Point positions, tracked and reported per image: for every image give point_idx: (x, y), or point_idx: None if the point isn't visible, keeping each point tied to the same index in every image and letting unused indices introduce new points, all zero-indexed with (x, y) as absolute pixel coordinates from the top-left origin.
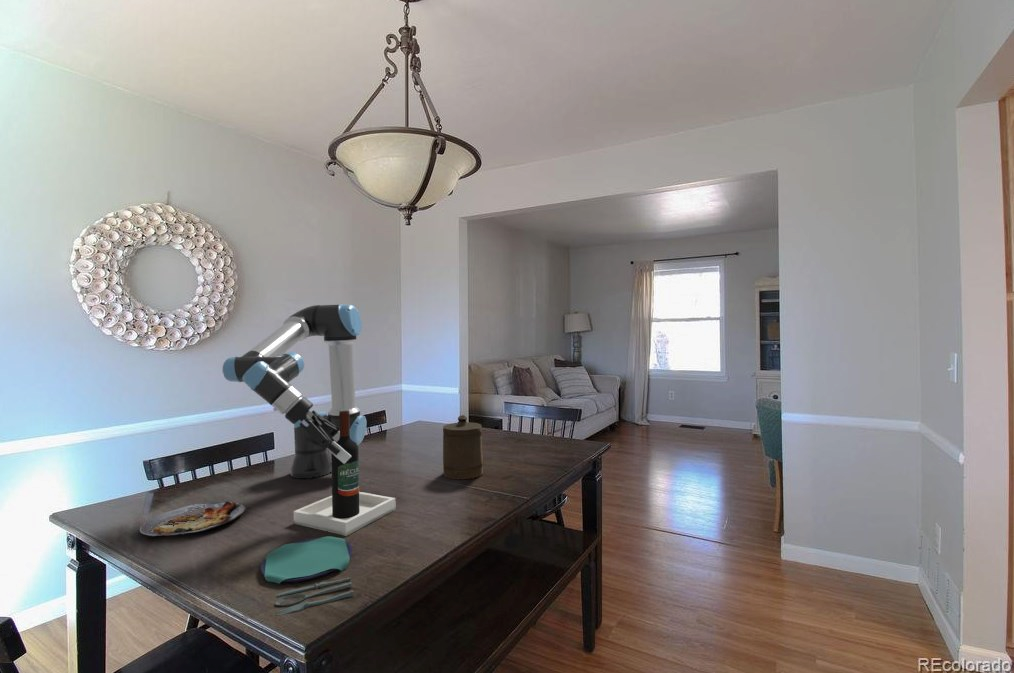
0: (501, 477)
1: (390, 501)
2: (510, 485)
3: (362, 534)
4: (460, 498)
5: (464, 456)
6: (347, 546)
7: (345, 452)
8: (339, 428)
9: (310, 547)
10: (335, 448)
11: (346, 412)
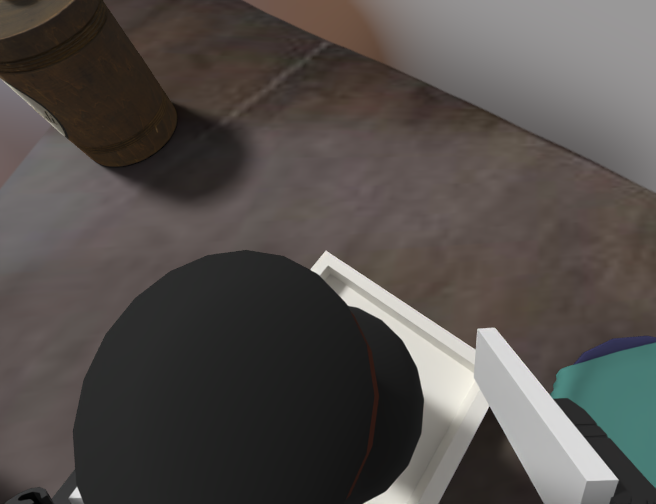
0: (196, 69)
1: (342, 263)
2: (251, 59)
3: None
4: (295, 136)
5: (142, 77)
6: (602, 353)
7: (520, 361)
8: (33, 500)
9: None
10: (607, 440)
11: (342, 307)
